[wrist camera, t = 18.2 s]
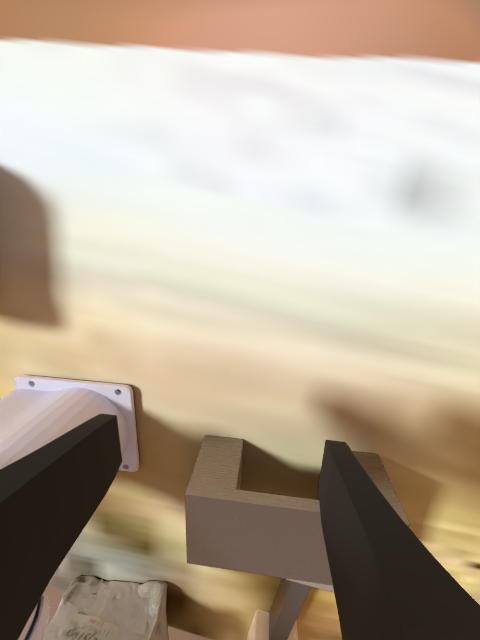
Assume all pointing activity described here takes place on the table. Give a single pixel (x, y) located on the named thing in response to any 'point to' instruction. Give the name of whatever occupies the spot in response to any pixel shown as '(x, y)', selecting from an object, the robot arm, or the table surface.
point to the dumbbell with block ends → (283, 612)
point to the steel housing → (259, 518)
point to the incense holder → (110, 611)
